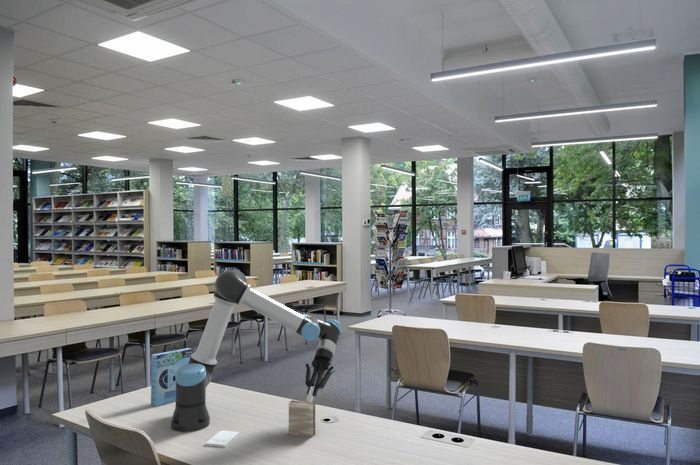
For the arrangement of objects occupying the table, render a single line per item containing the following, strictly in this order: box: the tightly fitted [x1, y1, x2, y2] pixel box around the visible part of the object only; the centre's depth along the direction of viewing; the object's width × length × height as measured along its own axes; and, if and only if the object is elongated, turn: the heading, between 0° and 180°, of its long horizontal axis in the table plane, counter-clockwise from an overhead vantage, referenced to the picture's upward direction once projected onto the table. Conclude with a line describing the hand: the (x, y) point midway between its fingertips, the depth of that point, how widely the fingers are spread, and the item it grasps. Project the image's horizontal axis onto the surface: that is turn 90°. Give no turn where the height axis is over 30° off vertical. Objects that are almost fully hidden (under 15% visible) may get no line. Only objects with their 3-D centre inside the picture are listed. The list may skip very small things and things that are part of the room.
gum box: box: [150, 347, 194, 407], centre depth 233 cm, size 20×5×23 cm, turn 141°
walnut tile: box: [288, 399, 316, 438], centre depth 192 cm, size 3×10×12 cm, turn 70°
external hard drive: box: [203, 430, 240, 449], centre depth 186 cm, size 2×8×12 cm
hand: (308, 402), depth 198 cm, fingers closed
